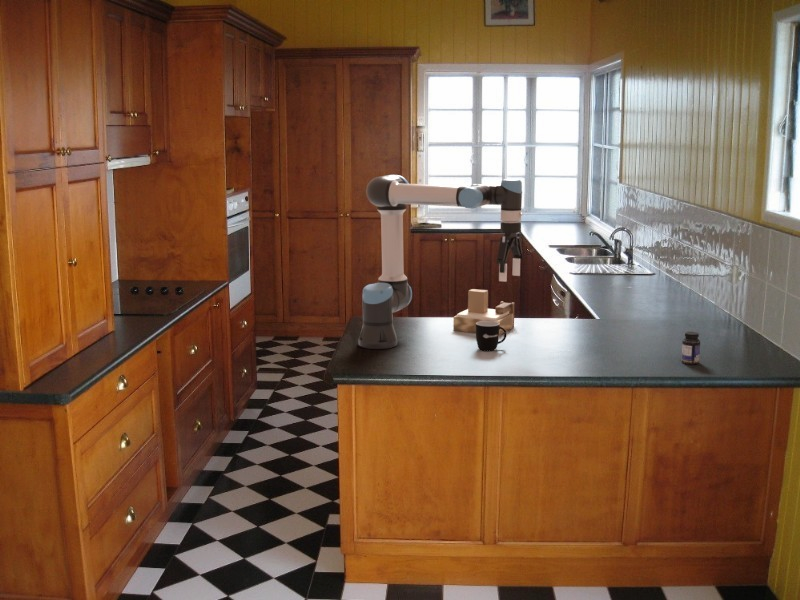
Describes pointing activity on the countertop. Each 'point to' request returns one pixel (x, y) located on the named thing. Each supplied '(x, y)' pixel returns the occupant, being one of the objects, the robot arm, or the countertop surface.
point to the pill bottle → (691, 348)
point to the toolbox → (470, 323)
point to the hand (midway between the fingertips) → (509, 278)
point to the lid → (480, 307)
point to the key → (503, 308)
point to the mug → (488, 335)
